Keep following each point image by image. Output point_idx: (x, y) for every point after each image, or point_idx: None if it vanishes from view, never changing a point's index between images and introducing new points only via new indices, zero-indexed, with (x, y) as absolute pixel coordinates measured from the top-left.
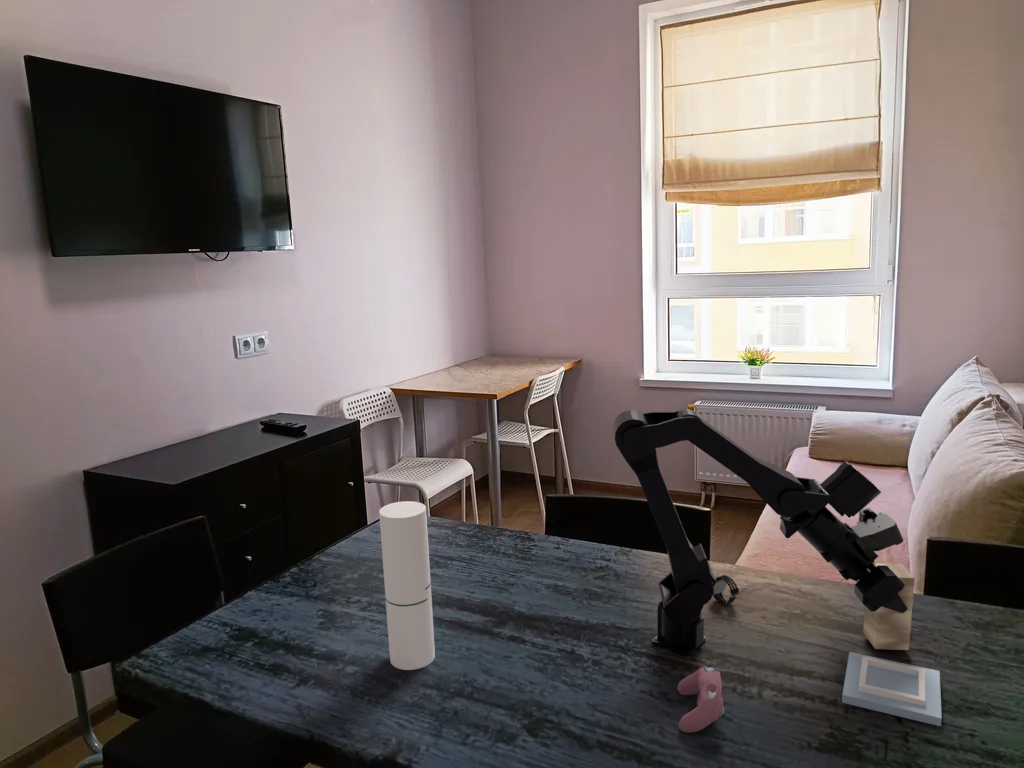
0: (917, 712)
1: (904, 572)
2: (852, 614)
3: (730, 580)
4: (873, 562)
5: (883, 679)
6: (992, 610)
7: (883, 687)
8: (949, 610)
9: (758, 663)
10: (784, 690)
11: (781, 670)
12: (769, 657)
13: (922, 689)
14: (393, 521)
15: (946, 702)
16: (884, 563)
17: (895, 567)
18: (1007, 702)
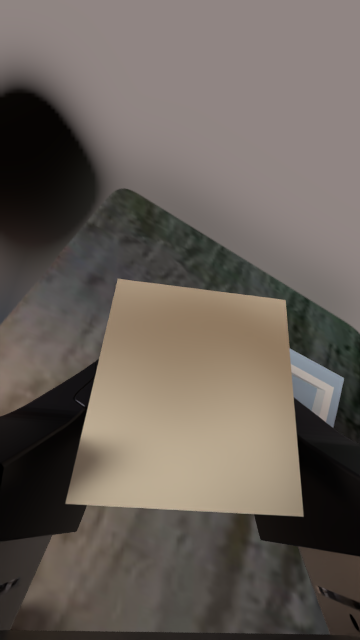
0: (338, 401)
1: (228, 318)
2: (92, 361)
3: None
4: (59, 436)
5: None
6: (117, 201)
7: None
8: (108, 239)
9: (216, 603)
10: (288, 573)
11: (236, 558)
12: (199, 570)
13: (310, 378)
14: None
15: (289, 346)
16: (98, 371)
17: (162, 333)
18: (282, 288)
